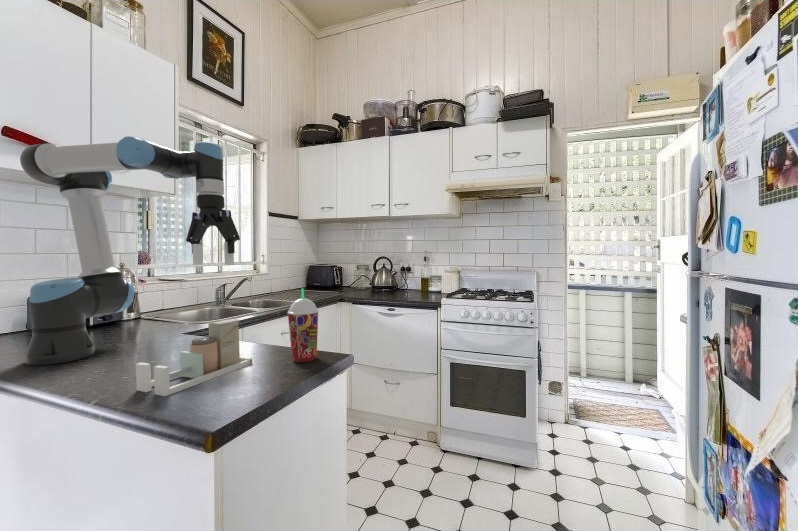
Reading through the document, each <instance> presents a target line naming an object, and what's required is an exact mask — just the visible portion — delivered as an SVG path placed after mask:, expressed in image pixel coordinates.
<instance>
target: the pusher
mask: <svg viewBox="0 0 798 531" xmlns="http://www.w3.org/2000/svg"><path fill="white" fill-rule="evenodd" d="M179 355H180V356H179V358H180V361H179V362H180V368H179V369H177V370H173V371H171V372H170V371H169V378H173V377H176V376H179V375H181V376H182V377H183V378H190V379H194V378H197V377H200V376H203V375H204V374H203V353H195V352H190V351H187V350H182V351H180V352H179Z"/></svg>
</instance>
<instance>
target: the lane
mask: <svg viewBox="0 0 798 531" xmlns="http://www.w3.org/2000/svg"><path fill="white" fill-rule="evenodd" d="M251 363H252V364H253V358H252V357H245V356H240V362H239V363H236V364H234V365H231V366H228V367H225V368H222V369H220V370H217V371H214V372H211V373H208V374H206V375H203V376H200V377H197V378H191V379H189V380H186V381H184V382H181V383H178V384H175V385H173V386H171V384H170V381H173V380H177V379H179V378H181V377H182V376H181V375H179V376H176V377H173V378H169V373H170V367H169V366H167V365H166V366H165V365H159V364H158V365H156V366H153V376H154V377H153V379H152V370H151V369H152V367H151V363H149V362H137V363H135V375H136V376H135V378H136V379H135V380H136V391H139V392H142V393H149V392H151V391H152V388H153V387H154V395H155V396H162V397H167V396H170V395H172V394H175V393H178V392H180V391H184V390H186V389H188V388H191V387H194V386H197V385H199V384H202V383H204V382H208V381H210V380H212V379H215V378H218V377H220V376H223V375H226V374H228V373H231V372H233V371H237V370H239V369H241V367H242V368H244V367H243V366H245V367H247V366H250V365H252V364H251ZM249 364H250V365H249ZM246 365H247V366H246ZM236 369H237V370H236Z"/></svg>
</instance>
